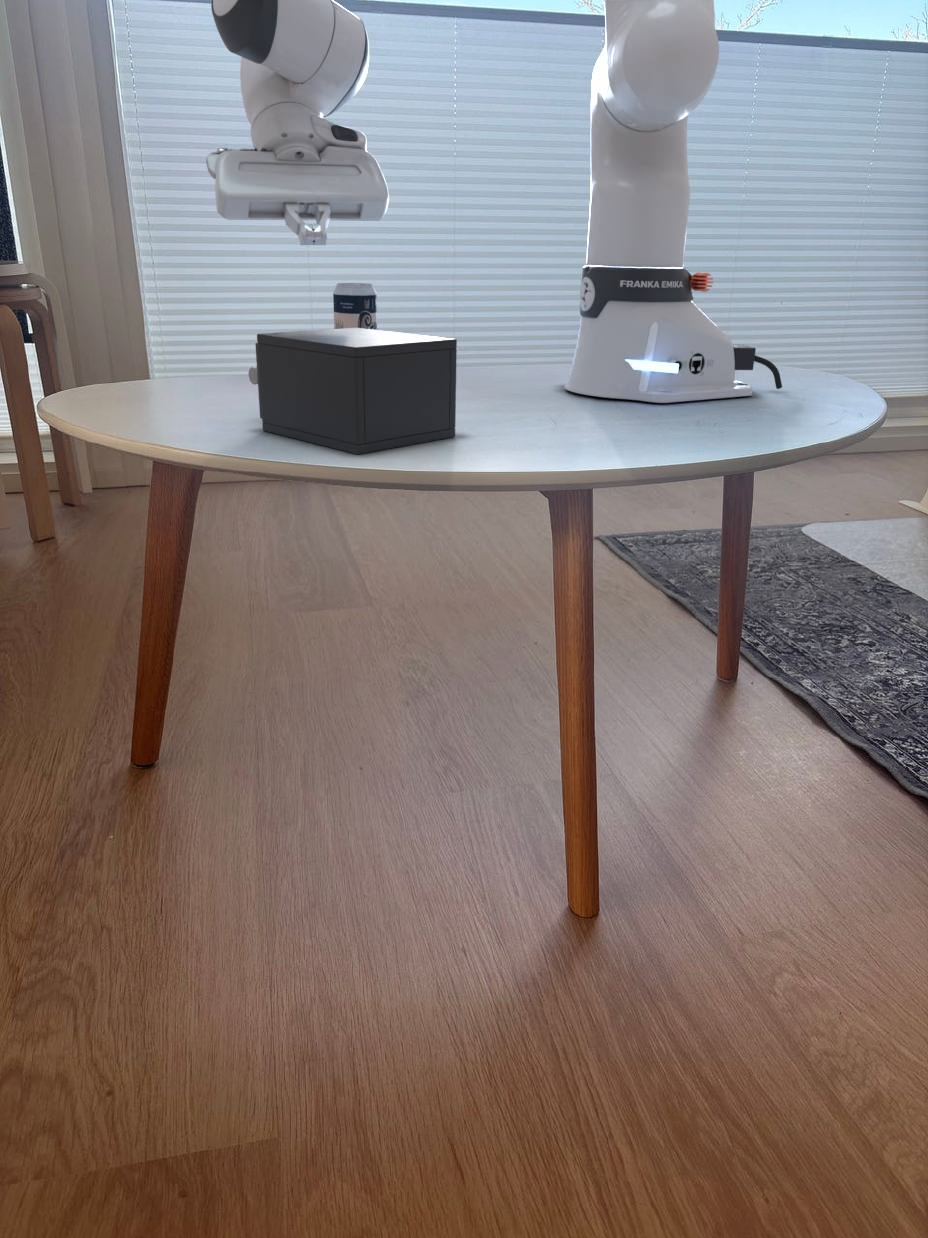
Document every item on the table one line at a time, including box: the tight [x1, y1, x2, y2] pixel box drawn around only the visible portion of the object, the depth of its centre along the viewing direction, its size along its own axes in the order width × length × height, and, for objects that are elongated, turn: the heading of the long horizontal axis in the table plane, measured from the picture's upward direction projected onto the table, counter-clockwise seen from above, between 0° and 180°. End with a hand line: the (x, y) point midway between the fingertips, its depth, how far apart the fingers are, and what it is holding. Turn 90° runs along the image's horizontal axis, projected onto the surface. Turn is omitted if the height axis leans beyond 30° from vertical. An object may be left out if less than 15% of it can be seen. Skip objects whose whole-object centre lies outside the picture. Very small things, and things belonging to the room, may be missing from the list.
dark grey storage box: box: [256, 328, 458, 455], centre depth 84 cm, size 14×12×9 cm
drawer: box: [247, 342, 262, 420], centre depth 86 cm, size 16×10×7 cm, turn 46°
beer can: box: [332, 282, 378, 330], centre depth 104 cm, size 5×5×12 cm
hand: (314, 241), depth 107 cm, fingers closed
